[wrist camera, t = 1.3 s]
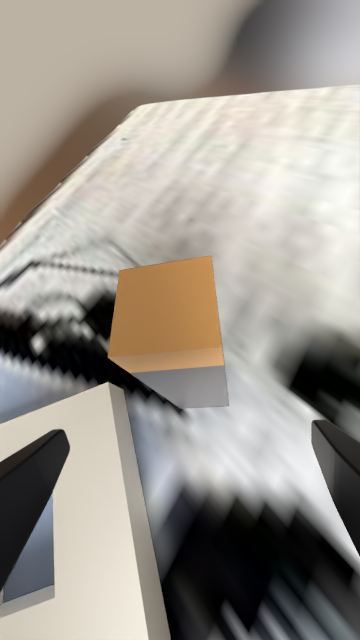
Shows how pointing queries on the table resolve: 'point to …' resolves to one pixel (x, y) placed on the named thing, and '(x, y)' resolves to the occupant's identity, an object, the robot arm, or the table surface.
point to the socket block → (91, 529)
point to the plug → (171, 331)
